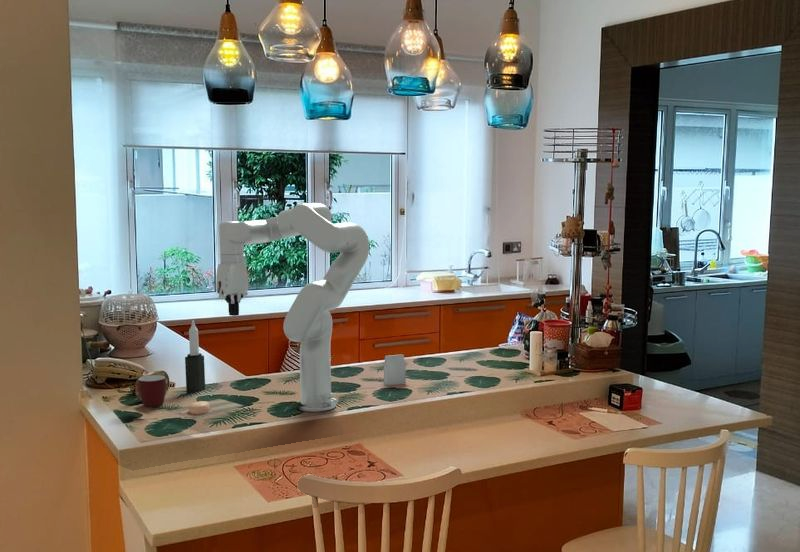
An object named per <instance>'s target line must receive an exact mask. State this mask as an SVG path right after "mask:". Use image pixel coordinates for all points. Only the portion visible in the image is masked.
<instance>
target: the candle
mask: <svg viewBox="0 0 800 552" xmlns="http://www.w3.org/2000/svg"><path fill="white" fill-rule="evenodd" d="M188 335H189V336H188V339H189V341H188V342H189V343H188V344H189V353H187V356H185V357H184V365H185V368H184V369H185V391H186V395H187V394H193V393H199V392H202V391H205V390H206V371H205V355H203V354H202V353H200V352H199V351H200V348H199V347H200V346H199V330H198V328H197V326H196V324H195V320H194V319H193V320H191V326H190V327H189V330H188Z"/></svg>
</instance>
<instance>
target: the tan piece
mask: <svg viewBox="0 0 800 552" xmlns="http://www.w3.org/2000/svg"><path fill="white" fill-rule="evenodd" d="M207 402H209V407H210V411H209V412H206V413H202V414H196V415H193V416H191V415H190V414H189V415H188V414H185V413H183V412H182V411H186V410H189V405H188V406H184V407H180V408H176V409H173V410H170V412H171V413H174V414H177V415H180V416H184V417H187V418H190V419H193V420H196V419H200V418H205V417H207V416H211V415H216V414H219V413H222V412H226V411H230V410H233V409H234V410H235V409H239V408H242V407H245V404H244V405H243V404H240V403H235V402H233V401H228V400H226V399H223V398H217V399H216V398H215V399H212V400H209V401H207ZM211 410H212V411H211Z"/></svg>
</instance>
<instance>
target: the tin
mask: <svg viewBox="0 0 800 552" xmlns="http://www.w3.org/2000/svg"><path fill="white" fill-rule="evenodd" d="M151 375H161V376H165V377H166V390H165V395H166V394H167V393H168V391H169V388H170V377H169V375H168V373H167V372H166V371H165V370H154V371H152V372H149V373H147V374H144V375H140V376H139V377H138V378H137V380H136V381H135V382H134V383H135V384H134V393H135V397H136V399H137V400H139V401H141V402H142V399H141V394H140V390H139V378H141V377H145V376H151Z"/></svg>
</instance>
